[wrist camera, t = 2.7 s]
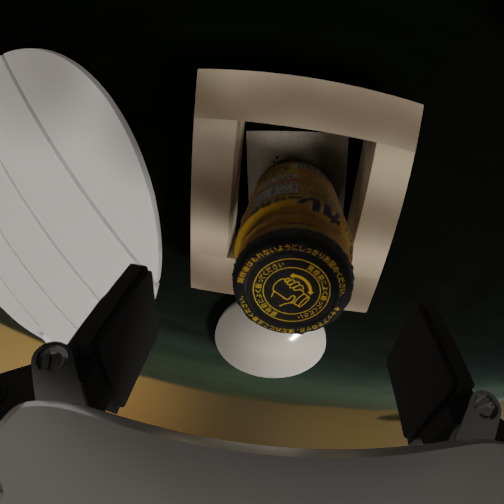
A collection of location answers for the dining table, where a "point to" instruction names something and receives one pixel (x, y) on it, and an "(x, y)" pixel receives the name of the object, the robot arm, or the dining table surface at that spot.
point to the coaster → (266, 346)
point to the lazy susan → (67, 194)
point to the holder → (307, 117)
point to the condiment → (294, 232)
